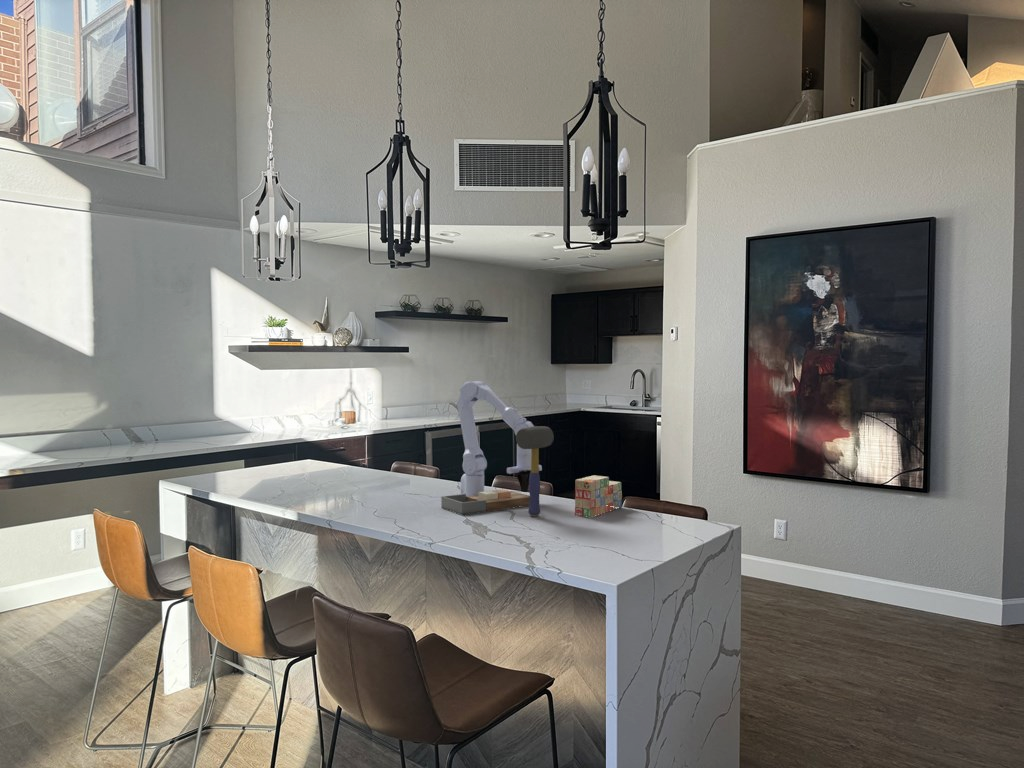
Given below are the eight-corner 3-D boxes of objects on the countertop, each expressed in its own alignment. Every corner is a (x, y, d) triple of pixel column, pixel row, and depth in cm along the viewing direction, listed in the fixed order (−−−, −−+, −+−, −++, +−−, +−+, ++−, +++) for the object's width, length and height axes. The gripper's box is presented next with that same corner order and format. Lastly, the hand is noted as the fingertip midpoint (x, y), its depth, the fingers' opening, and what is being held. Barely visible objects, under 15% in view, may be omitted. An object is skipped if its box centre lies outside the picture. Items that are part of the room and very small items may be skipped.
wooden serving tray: (465, 504, 254) (465, 496, 254) (511, 499, 266) (511, 491, 266) (487, 511, 243) (487, 502, 243) (533, 505, 254) (533, 496, 254)
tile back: (491, 496, 255) (491, 490, 255) (502, 494, 258) (502, 489, 258) (499, 498, 251) (499, 492, 251) (510, 496, 254) (510, 491, 254)
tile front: (478, 497, 252) (478, 492, 252) (490, 496, 255) (490, 490, 255) (486, 499, 248) (486, 494, 248) (497, 498, 251) (498, 492, 251)
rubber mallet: (530, 520, 229) (531, 428, 228) (513, 517, 234) (514, 426, 233) (554, 515, 238) (555, 425, 237) (538, 511, 243) (538, 424, 242)
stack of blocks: (606, 506, 255) (606, 471, 255) (621, 508, 251) (622, 473, 251) (574, 515, 238) (574, 479, 238) (590, 518, 234) (591, 481, 234)
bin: (441, 507, 249) (441, 496, 249) (465, 504, 254) (465, 493, 254) (462, 514, 237) (462, 502, 237) (486, 511, 243) (486, 499, 243)
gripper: (514, 457, 253) (514, 495, 253) (546, 454, 261) (546, 491, 261) (503, 455, 259) (503, 492, 259) (535, 452, 267) (535, 488, 267)
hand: (524, 491), depth 261 cm, fingers closed
